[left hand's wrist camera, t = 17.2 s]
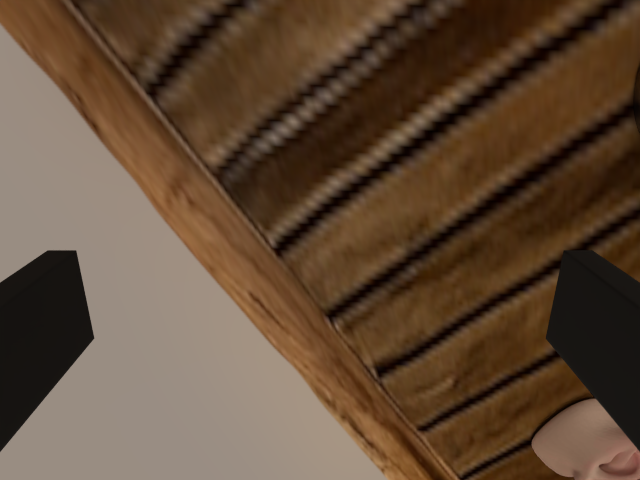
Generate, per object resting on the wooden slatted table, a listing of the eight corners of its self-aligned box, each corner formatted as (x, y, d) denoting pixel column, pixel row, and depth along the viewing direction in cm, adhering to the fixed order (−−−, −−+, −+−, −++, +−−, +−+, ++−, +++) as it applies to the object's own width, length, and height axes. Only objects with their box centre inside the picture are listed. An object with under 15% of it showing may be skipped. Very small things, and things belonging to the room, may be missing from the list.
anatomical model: (532, 490, 47) (597, 406, 43) (516, 458, 50) (575, 379, 46) (640, 525, 48) (712, 447, 45) (617, 492, 52) (681, 418, 48)
